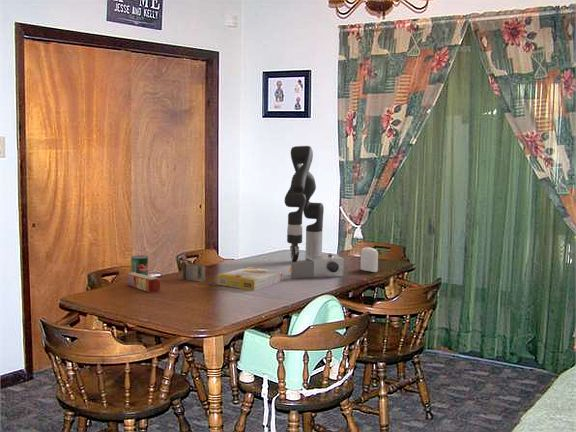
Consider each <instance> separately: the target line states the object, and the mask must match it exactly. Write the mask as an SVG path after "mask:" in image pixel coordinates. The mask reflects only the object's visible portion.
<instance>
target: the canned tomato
mask: <svg viewBox="0 0 576 432" xmlns="http://www.w3.org/2000/svg"><path fill="white" fill-rule="evenodd" d="M130 258H131V260H130V263H131V264H130V265H131V266H130V267H131V268H130V269H131V270H130V271H131V272H130V273H132V272H135V273H139V274H143V275H147V276H149V256H148V255H140V254H139V255H138V254H137V255H132V256H131V257H130Z"/></svg>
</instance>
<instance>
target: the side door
mask: <svg viewBox="0 0 576 432" xmlns="http://www.w3.org/2000/svg"><path fill="white" fill-rule="evenodd" d="M288 273H290V278H291V279H297V278H298V279H299V278H315V277H314V261H309V262H306V261H297V262H292V261H290V267H289V272H288Z"/></svg>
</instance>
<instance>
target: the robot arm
mask: <svg viewBox="0 0 576 432" xmlns="http://www.w3.org/2000/svg"><path fill="white" fill-rule="evenodd" d="M313 156H314V152H313V149H312V147H311V146H310V145H299V146H298V145H297V146H292V147H291V149H290V158H291V162H292V165H293V169H294V172H295V173H294V174H293V175H292V177H291V182H290V187H289V189H288V191H287V192H286V195H285V196H284V204H285V206H286V207H288V208H298V209H297V210H296V211H290V212H289V213H288V214H287V231H286V232H287V233H286V242H287V243H288V244H290V246H289V249H290V250H289V251H290V260H291V262H298V260H299V254H300V246H299V245H300V244H302V243H303V215H304V218H306V219H308V220H309V219H310V220H316V221H315V222H313V223H311V224H308V225H306V227H305V254H304V255H305V261H304V262H306V256H311V255H323V228H324V227H323V226H324V209H325V208H324V203H322V202H311V201H310V199H311V197H313V195H314V194H315V191H316V189H317V186H316V181H315V177H314V175H313V174H312V173H311V172H310V169H311V166H312V163H313V158H314V157H313Z"/></svg>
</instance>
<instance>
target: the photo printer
mask: <svg viewBox="0 0 576 432" xmlns="http://www.w3.org/2000/svg"><path fill="white" fill-rule="evenodd" d="M360 270H362V271H365V272H372V273H377V272H378V271H379V251H378V249H375V248H373V247H370V246H369V247H363V248H361V251H360Z"/></svg>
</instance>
